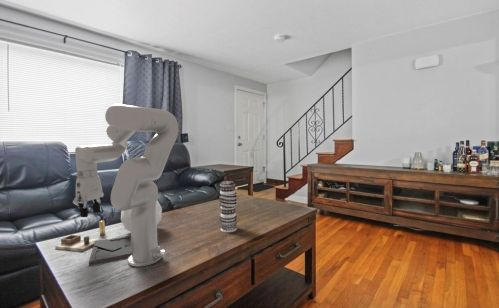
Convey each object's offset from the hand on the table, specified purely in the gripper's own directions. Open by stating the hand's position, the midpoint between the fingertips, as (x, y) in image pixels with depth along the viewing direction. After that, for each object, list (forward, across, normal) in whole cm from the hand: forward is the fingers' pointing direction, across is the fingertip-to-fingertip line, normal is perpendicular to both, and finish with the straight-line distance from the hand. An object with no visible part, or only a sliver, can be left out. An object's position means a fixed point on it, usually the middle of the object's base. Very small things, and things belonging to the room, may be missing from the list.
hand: (90, 214), depth 111 cm
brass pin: (+15, +14, +8) cm, 22 cm away
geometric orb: (+15, +21, -10) cm, 28 cm away
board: (+15, +1, +8) cm, 17 cm away
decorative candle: (+16, +32, -53) cm, 64 cm away
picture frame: (+16, 0, -11) cm, 19 cm away
